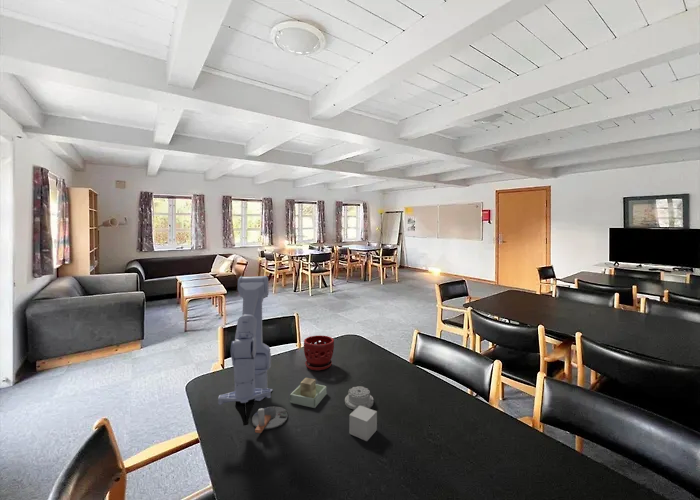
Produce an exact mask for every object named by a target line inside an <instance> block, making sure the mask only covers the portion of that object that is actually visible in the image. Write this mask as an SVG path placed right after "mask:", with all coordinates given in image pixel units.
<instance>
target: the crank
mask: <svg viewBox="0 0 700 500" xmlns="http://www.w3.org/2000/svg"><path fill="white" fill-rule="evenodd" d="M267 407H268V408H266V407H265V408H266V409H265V410H264V409H263V407H260V408H258V410H257V411H258V426H257V427H255V429H254V432H255V434H261V433H263V431H264V430H263V429H264V428H265V426H266V425H267V423H268V422H269V420H270V419H272V418H274V417H275V416H276V409H275V408H274V407H273V406H267Z"/></svg>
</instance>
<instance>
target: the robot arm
mask: <svg viewBox="0 0 700 500" xmlns="http://www.w3.org/2000/svg"><path fill="white" fill-rule="evenodd" d="M269 285H270V284H269V277H268V276H267V275H263V276H262V275H258V276H239V277H238V279H237V293H238V294H239V296H240V297H241V298H242V312H241V313H242V314H241V315H240V316H239V317H238V319H237V324H236V330H235V335H234V340H232V341H231V344H230V358H231V362H232V363H231V365H232V366H233V380H234V384H233V385H234V391H231V392H227V393H224V394H219V395H218V398H217V404H218V405H219V406H220V405H223V404H227V403H233V402H235V405H234V406H235V410H236V411H237V413H238V414H239V416H240V418H241V420H242V424H243V426H249V421H250V417H251V414H252V410H253V409H254V406H255V405H256V404H255V402H256V401H257V402H260V401H262V400H263V399H264V398H266V399H271V396H272V395H271V394H272V393H271V392H273V388H268V371H269V370H270V368H272V367H271V365H272V353H271V348H270V346H269V345H267V344H266V343H264V342H263V301H264V299H266V298H268V296H269Z"/></svg>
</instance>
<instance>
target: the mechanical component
mask: <svg viewBox="0 0 700 500" xmlns="http://www.w3.org/2000/svg"><path fill="white" fill-rule="evenodd" d="M347 393H348V394H347V395H346V396H345V398H344V403H345V404H344V405H345V406H346V407H347V408H348V409H351V410H353V411H354V410H355V409H356V408H358V407H359V406H360V405H361V406H363V407H366V408H369V409H371V408H372V407H373V405H374V397H373V396H372V395H371V391H370V390H369V388H367V387H365V386H362V385H361V386H359V385H358V386H352V388H351V387H350V388H349V389H348V392H347Z"/></svg>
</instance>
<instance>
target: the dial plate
mask: <svg viewBox="0 0 700 500" xmlns="http://www.w3.org/2000/svg"><path fill="white" fill-rule="evenodd" d="M268 407H269V406H267V407H264V408H263V407H262V408H263V409H264V410H265V409H266V408H268ZM272 407H274V408H275V409H276V416H275V417H274V418H272V419H270V420H269V422H268V423H267V425H266V426H265V428H264V429H263V431H265V430H266V431H267V430H273V429H276V428H279V427H281V426H283V425H284V424H285V423H286V421H288V416H289V415H288V411H287V409H285V408H284V407H280V406H272ZM251 422H252V426H253V427H255V428H256V427H257V426H258V410H257V411H256V412H255V413H254V414H253V416H252V418H251Z"/></svg>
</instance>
